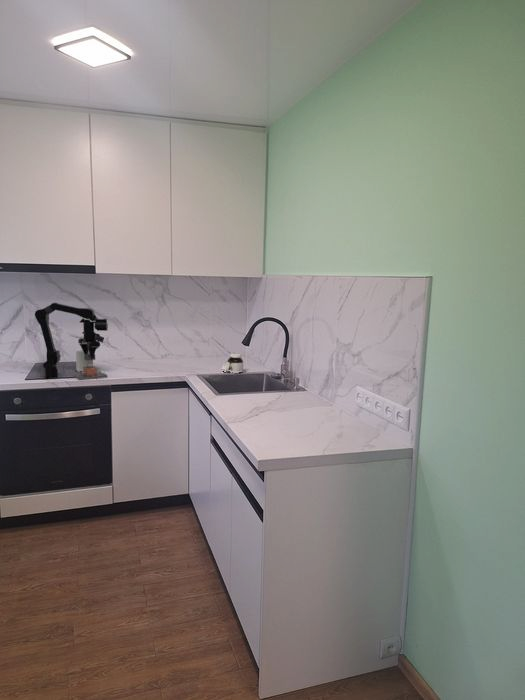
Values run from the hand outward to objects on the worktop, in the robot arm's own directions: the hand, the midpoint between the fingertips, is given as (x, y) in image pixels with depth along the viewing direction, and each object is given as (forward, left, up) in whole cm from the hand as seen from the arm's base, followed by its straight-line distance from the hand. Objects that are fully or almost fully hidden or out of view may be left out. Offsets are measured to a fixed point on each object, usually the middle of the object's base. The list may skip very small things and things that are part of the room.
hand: (89, 357), depth 279 cm
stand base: (0, 0, -12) cm, 12 cm away
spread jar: (+80, -31, -12) cm, 87 cm away
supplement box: (+4, +20, -12) cm, 24 cm away
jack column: (0, 0, -6) cm, 6 cm away
